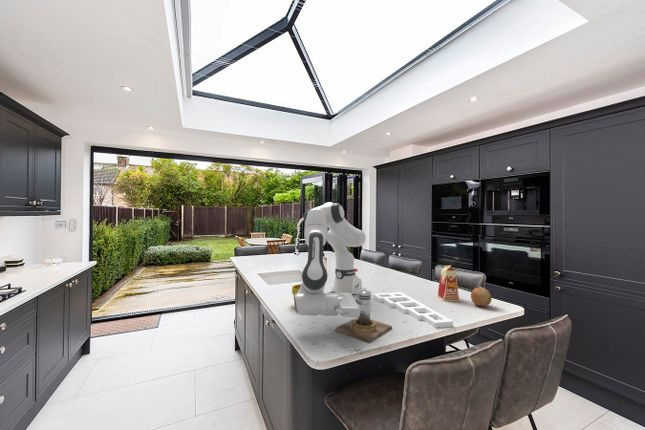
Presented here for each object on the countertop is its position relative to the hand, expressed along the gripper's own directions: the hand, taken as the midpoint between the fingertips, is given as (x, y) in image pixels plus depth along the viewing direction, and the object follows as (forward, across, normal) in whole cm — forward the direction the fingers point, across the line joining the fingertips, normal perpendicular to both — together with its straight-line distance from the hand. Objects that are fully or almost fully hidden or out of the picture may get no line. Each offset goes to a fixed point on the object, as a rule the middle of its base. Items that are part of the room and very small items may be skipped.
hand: (366, 304), depth 115 cm
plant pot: (-27, +30, +11) cm, 42 cm away
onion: (+68, +28, +11) cm, 75 cm away
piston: (-1, 0, +9) cm, 9 cm away
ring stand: (-1, 0, +10) cm, 10 cm away
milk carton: (+57, +41, +11) cm, 71 cm away
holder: (+26, +23, +11) cm, 37 cm away
